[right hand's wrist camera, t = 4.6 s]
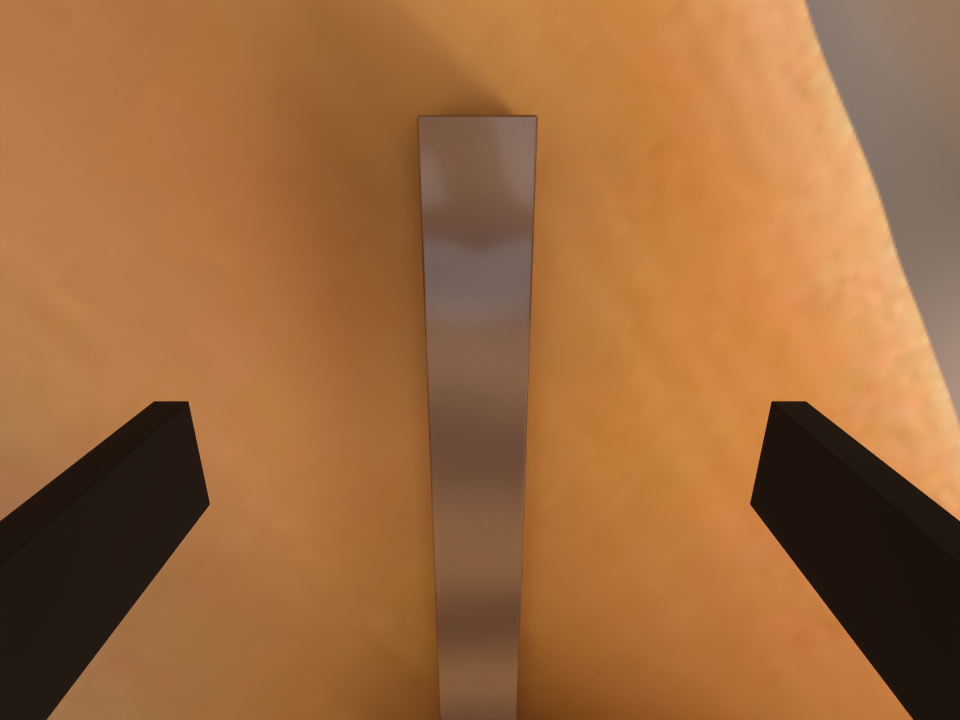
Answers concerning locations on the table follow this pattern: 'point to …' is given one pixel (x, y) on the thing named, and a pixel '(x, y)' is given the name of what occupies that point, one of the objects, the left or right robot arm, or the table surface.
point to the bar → (477, 394)
